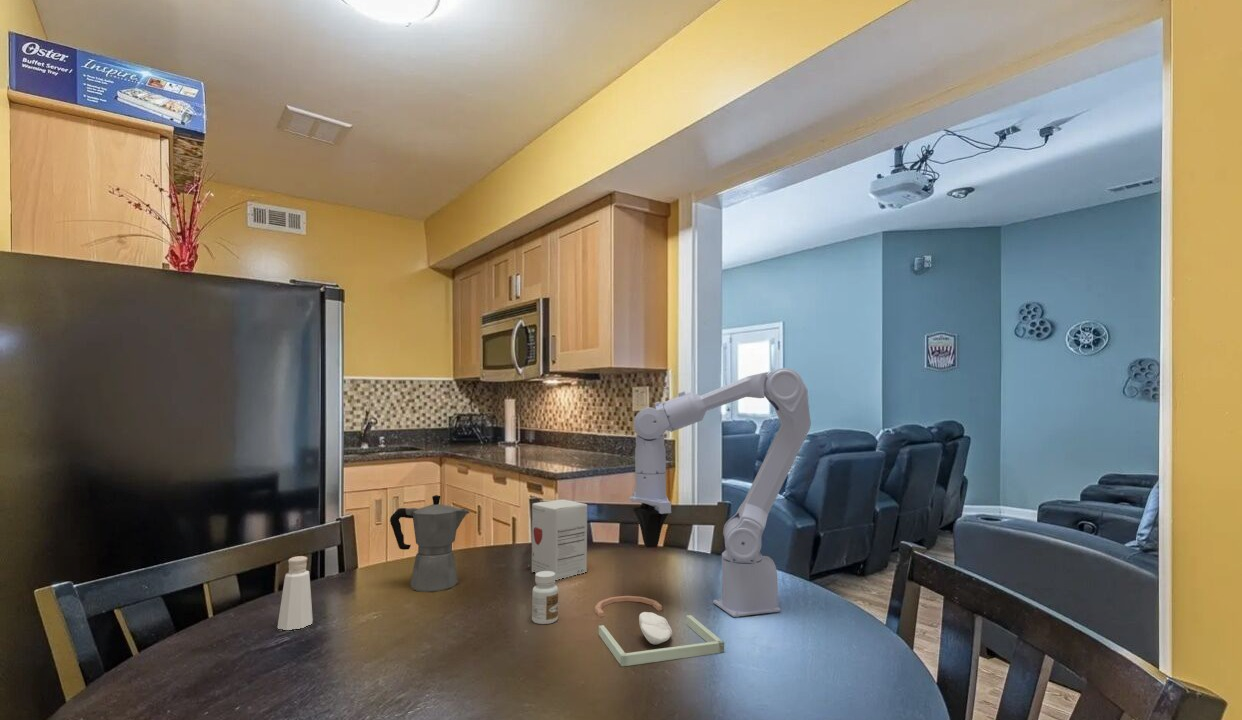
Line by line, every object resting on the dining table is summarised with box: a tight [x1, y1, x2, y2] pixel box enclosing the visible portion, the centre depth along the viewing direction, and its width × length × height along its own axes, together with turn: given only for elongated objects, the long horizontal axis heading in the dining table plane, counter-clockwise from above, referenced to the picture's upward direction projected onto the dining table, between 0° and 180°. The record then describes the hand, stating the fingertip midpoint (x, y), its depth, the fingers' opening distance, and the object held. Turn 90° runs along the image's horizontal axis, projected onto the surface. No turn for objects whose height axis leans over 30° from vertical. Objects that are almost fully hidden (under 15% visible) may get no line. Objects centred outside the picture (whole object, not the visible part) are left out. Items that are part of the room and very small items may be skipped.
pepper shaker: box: [276, 555, 313, 630], centre depth 99 cm, size 5×5×11 cm
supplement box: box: [531, 498, 588, 581], centre depth 130 cm, size 9×9×15 cm
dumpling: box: [638, 611, 673, 645], centre depth 92 cm, size 7×5×4 cm
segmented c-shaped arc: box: [594, 595, 663, 618], centre depth 108 cm, size 12×7×1 cm, turn 108°
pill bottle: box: [531, 571, 559, 625], centre depth 101 cm, size 4×4×8 cm
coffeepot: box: [389, 494, 470, 593], centre depth 121 cm, size 15×9×18 cm, turn 102°
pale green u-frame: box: [598, 614, 725, 667], centre depth 91 cm, size 16×12×1 cm
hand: (651, 546), depth 110 cm, fingers closed
